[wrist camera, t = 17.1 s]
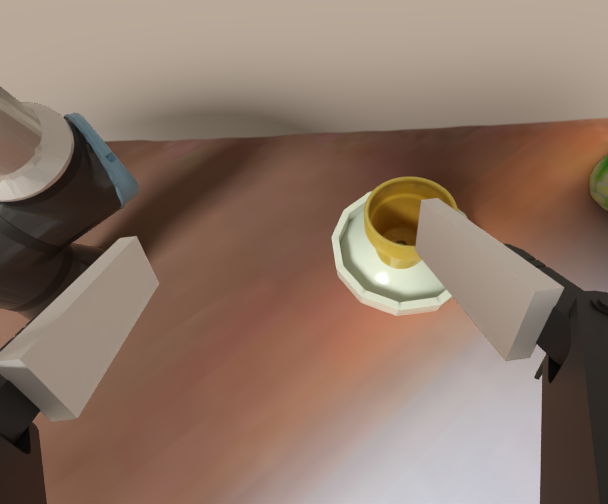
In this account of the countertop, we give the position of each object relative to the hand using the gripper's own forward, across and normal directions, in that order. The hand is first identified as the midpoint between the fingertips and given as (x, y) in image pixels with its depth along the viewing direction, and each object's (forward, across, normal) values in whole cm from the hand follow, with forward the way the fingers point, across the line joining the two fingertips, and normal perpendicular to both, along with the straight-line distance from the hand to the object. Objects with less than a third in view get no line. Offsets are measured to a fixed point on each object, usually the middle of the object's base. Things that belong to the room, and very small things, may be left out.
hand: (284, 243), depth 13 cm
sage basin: (+23, +15, -16) cm, 32 cm away
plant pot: (+22, +15, -16) cm, 31 cm away
